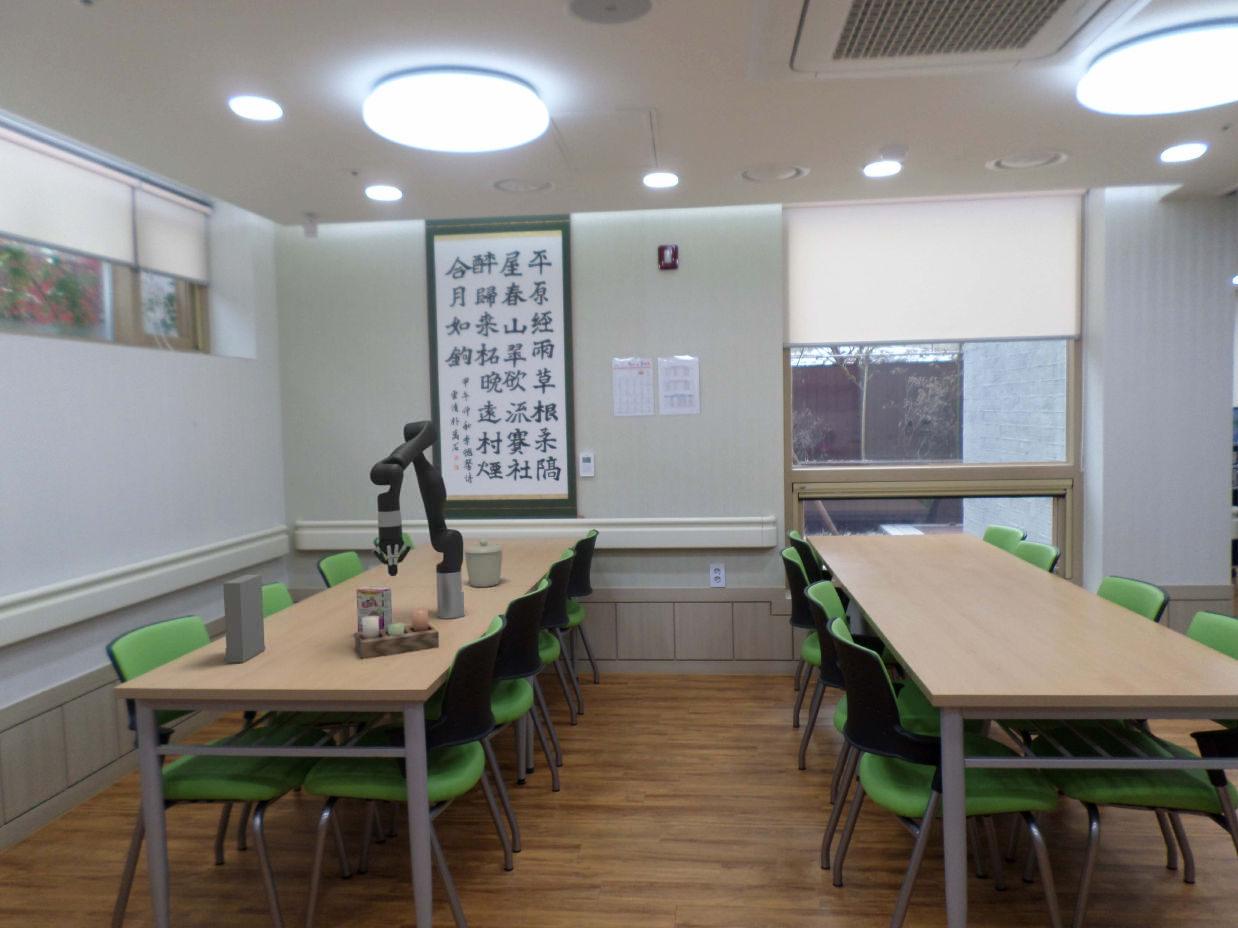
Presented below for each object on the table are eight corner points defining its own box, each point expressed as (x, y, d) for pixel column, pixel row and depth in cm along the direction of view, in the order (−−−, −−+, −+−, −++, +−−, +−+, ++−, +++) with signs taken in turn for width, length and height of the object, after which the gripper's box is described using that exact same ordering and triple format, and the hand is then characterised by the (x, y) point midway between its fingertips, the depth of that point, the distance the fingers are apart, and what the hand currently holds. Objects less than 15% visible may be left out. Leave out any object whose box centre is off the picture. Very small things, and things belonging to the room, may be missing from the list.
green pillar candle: (402, 643, 257) (402, 621, 256) (406, 646, 252) (405, 625, 252) (387, 645, 254) (386, 624, 254) (390, 649, 250) (389, 627, 249)
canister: (458, 589, 344) (456, 541, 343) (472, 580, 362) (471, 536, 361) (497, 589, 341) (496, 542, 340) (509, 581, 359) (508, 536, 358)
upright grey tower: (246, 650, 253) (243, 574, 252) (265, 650, 253) (262, 574, 252) (224, 663, 240) (220, 583, 238) (243, 663, 239) (239, 583, 238)
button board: (427, 637, 265) (427, 622, 265) (438, 646, 253) (438, 631, 252) (354, 647, 254) (354, 632, 253) (362, 658, 241) (362, 642, 241)
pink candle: (426, 629, 260) (425, 608, 260) (430, 632, 256) (429, 611, 255) (411, 631, 258) (410, 610, 257) (415, 635, 253) (414, 613, 253)
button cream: (377, 636, 253) (376, 614, 252) (380, 640, 248) (379, 617, 248) (361, 638, 250) (360, 616, 250) (364, 642, 246) (363, 620, 245)
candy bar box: (357, 635, 269) (355, 588, 268) (366, 632, 274) (364, 586, 273) (384, 637, 265) (382, 590, 264) (393, 634, 270) (391, 587, 269)
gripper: (406, 520, 263) (409, 571, 264) (366, 525, 256) (370, 576, 258) (412, 523, 256) (415, 574, 258) (372, 527, 250) (375, 580, 251)
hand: (393, 575), depth 258 cm, fingers closed
